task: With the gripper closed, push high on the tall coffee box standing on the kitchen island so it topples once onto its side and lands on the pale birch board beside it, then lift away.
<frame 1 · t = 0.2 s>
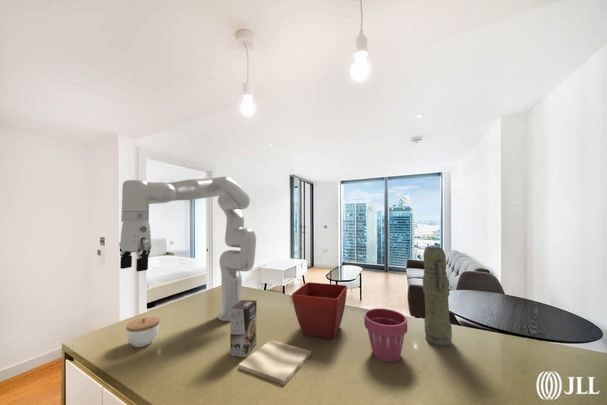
hand: (133, 269, 79), 31 cm above the countertop, tool pointing down, fingers open, 9 cm apart
plant pot 2: (321, 330, 100), on the countertop
plant pot: (386, 354, 82), on the countertop
lidded jar: (143, 343, 92), on the countertop
moai statue figurine: (438, 341, 90), on the countertop
coffee box: (243, 350, 86), on the countertop
birch board: (276, 361, 79), on the countertop
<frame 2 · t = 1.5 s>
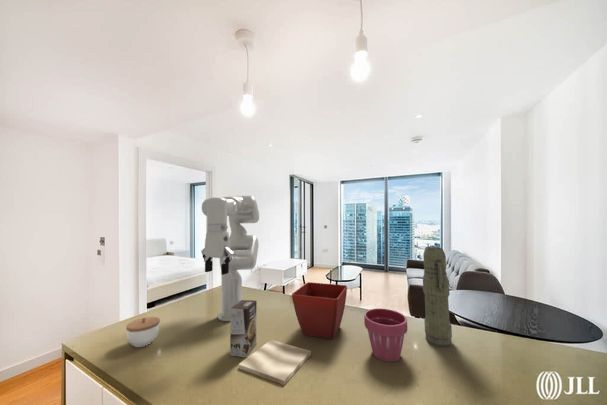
hand: (216, 272, 94), 26 cm above the countertop, tool pointing down, fingers open, 8 cm apart
nothing on the countertop moved.
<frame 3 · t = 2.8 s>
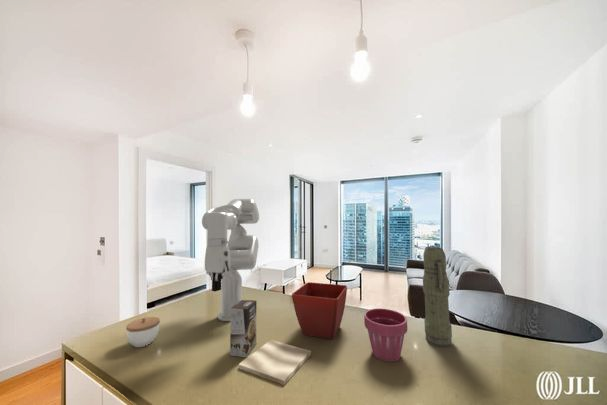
hand: (216, 290, 93), 19 cm above the countertop, tool pointing down, fingers closed
nothing on the countertop moved.
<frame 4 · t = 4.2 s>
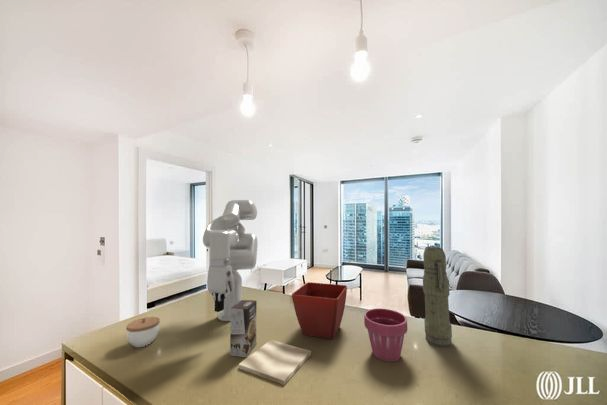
hand: (219, 310, 93), 12 cm above the countertop, tool pointing down, fingers closed
nothing on the countertop moved.
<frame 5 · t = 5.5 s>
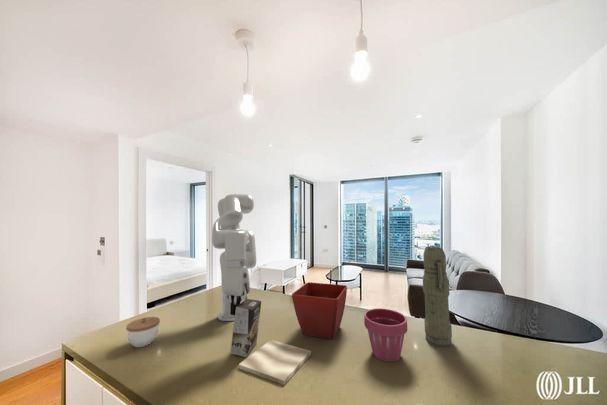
hand: (235, 313, 89), 12 cm above the countertop, tool pointing down, fingers closed
coffee box: (243, 349, 86), on the countertop, touching gripper
everything else where it was.
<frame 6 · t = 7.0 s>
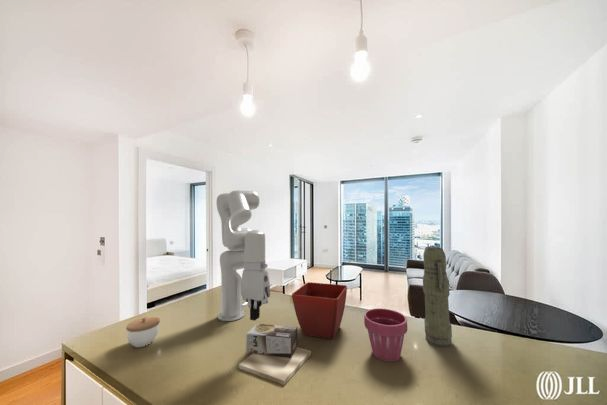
hand: (254, 318, 84), 12 cm above the countertop, tool pointing down, fingers closed
coffee box: (251, 337, 86), point 4 cm above the countertop, touching birch board
everything else where it was.
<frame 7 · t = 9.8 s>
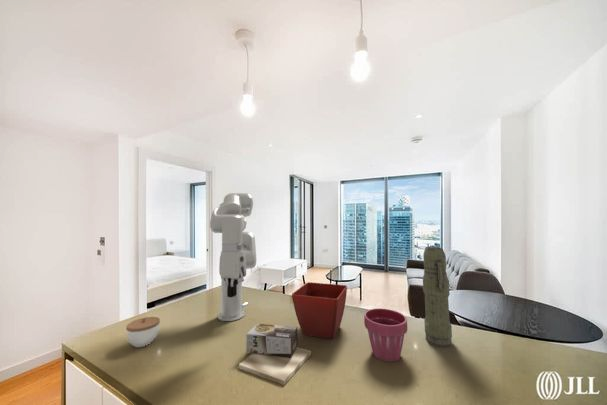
hand: (231, 296, 91), 18 cm above the countertop, tool pointing down, fingers closed
nothing on the countertop moved.
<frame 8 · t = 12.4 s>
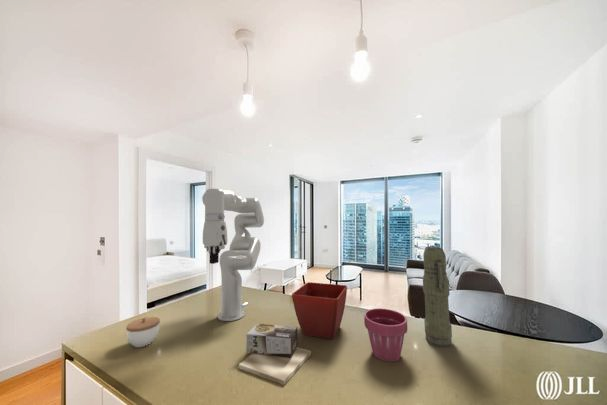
hand: (214, 262, 98), 29 cm above the countertop, tool pointing down, fingers closed
nothing on the countertop moved.
at the end: coffee box tilted 90°; coffee box touching birch board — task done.
